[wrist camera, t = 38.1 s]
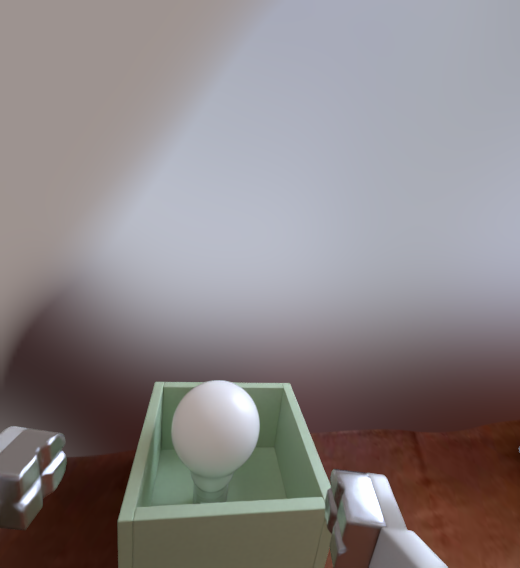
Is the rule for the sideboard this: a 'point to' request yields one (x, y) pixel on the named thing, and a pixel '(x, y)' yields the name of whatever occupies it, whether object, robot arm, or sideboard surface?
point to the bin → (240, 497)
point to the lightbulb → (214, 436)
